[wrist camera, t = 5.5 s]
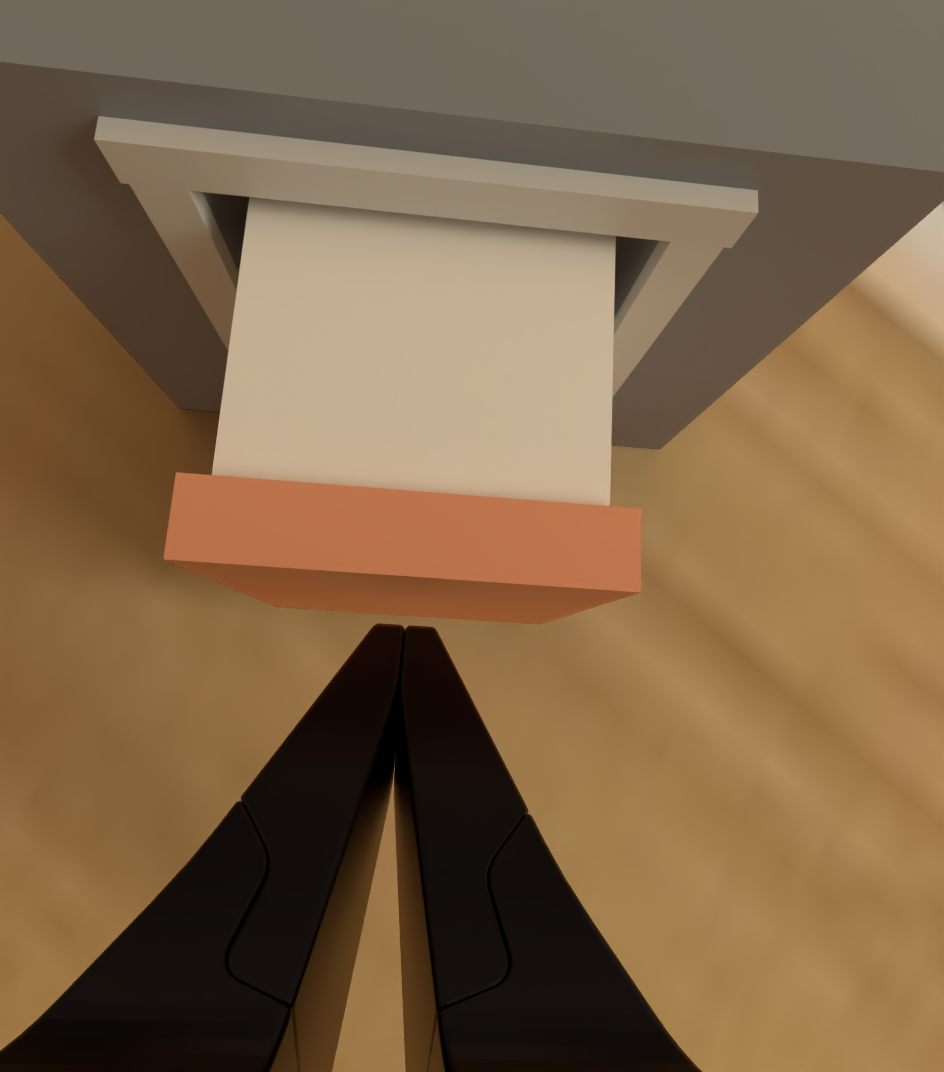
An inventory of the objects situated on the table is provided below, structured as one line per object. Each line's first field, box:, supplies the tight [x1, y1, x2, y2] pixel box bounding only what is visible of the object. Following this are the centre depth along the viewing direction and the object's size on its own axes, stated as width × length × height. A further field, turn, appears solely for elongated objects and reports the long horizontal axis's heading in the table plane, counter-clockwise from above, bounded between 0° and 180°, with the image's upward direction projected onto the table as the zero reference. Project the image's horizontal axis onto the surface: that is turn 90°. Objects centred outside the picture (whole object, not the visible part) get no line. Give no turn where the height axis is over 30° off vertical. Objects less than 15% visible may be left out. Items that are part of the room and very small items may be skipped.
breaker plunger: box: [163, 197, 642, 624], centre depth 12 cm, size 10×5×6 cm, turn 177°
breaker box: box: [0, 0, 944, 449], centre depth 13 cm, size 4×12×10 cm, turn 87°
